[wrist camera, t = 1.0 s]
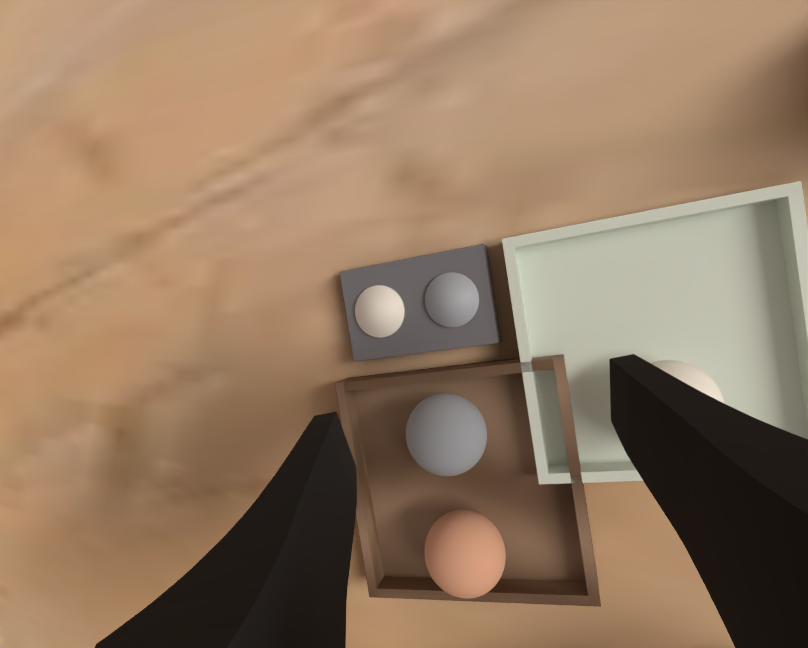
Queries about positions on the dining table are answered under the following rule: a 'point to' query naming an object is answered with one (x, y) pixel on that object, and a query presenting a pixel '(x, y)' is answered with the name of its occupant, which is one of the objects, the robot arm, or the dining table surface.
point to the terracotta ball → (465, 554)
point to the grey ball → (446, 434)
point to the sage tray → (663, 314)
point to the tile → (421, 304)
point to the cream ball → (691, 377)
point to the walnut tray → (467, 485)
